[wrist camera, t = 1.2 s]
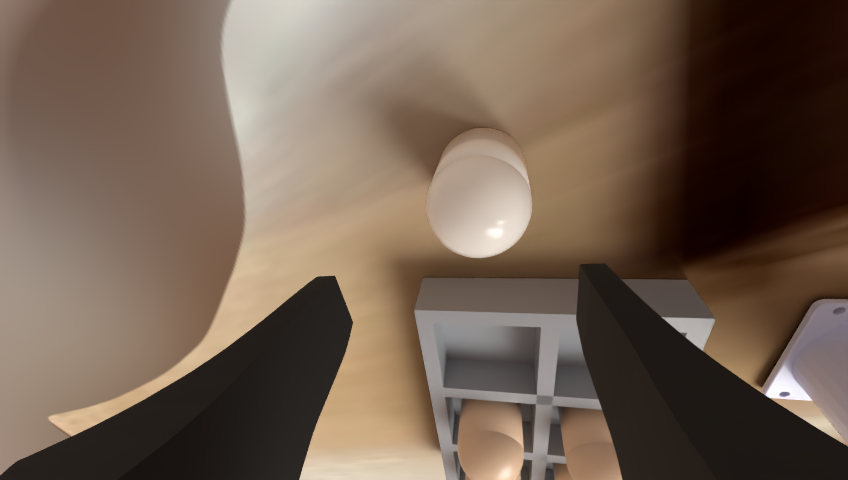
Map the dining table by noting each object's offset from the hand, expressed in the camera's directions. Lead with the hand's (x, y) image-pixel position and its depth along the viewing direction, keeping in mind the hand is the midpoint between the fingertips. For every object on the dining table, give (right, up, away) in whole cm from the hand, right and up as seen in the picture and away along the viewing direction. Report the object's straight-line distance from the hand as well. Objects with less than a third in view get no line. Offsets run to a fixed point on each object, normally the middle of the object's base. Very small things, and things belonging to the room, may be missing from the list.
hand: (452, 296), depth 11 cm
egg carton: (+8, -10, +16) cm, 21 cm away
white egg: (+2, +5, +8) cm, 10 cm away
